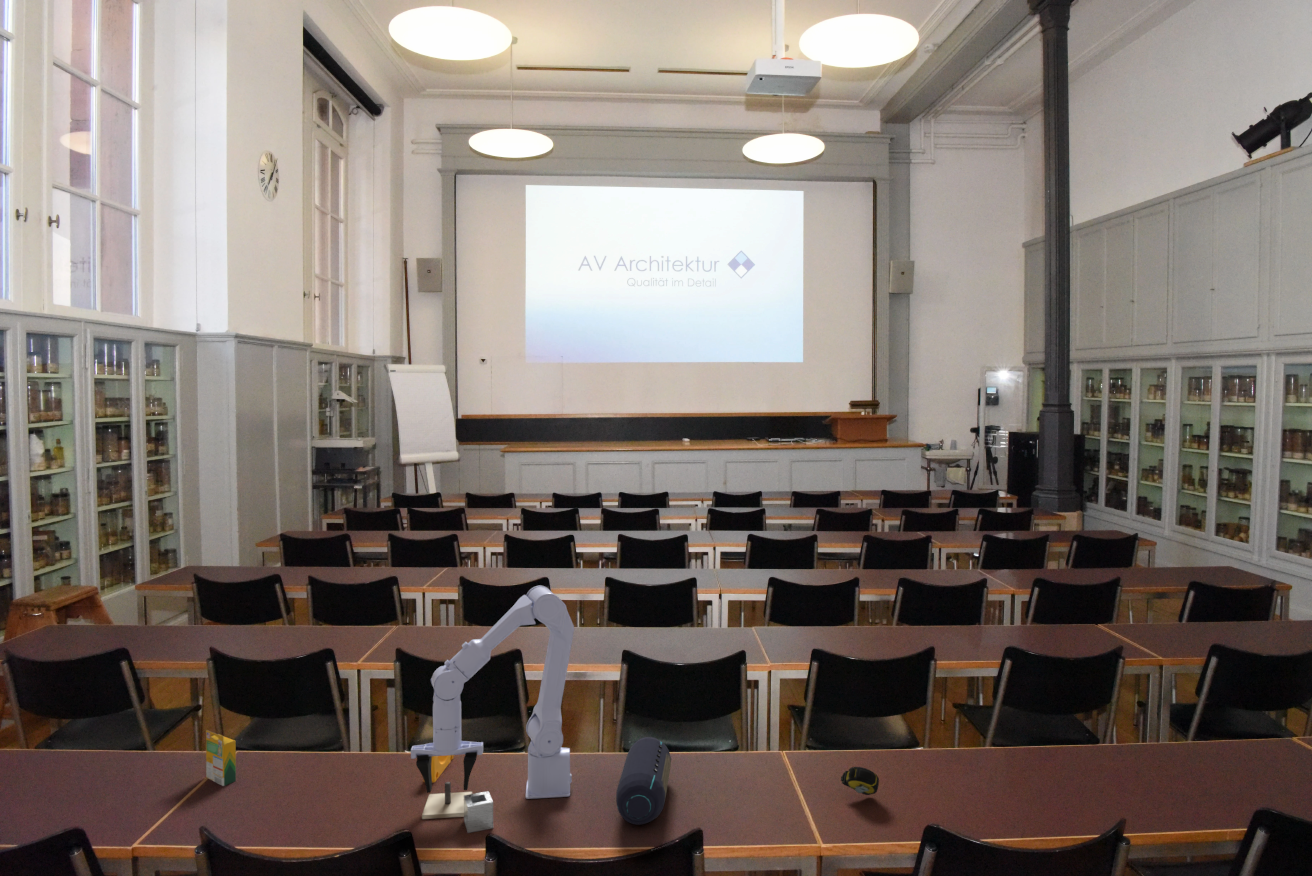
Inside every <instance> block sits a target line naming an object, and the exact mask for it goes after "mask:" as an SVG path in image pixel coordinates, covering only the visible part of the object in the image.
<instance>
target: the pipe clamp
mask: <svg viewBox="0 0 1312 876" xmlns="http://www.w3.org/2000/svg"><path fill="white" fill-rule="evenodd" d="M454 756H455V755H446V756H432V762H431V775H432V783H436V781H437V780H438V779H439V778H440V776H441V775H442V774H443V772H444V771H445V770H446V768H447V767H448V765H450V763H451V762H452V761H453V759H454V758H455V757H454ZM422 779H423V778H422ZM422 782H423V783H425V782H424V779H423V781H422Z"/></svg>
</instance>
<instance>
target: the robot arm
mask: <svg viewBox="0 0 1312 876" xmlns="http://www.w3.org/2000/svg"><path fill="white" fill-rule="evenodd" d="M535 619H536V620H538V621H539V622H540V623H542V624H543V625H545V627H546V628H547V629H548V630H549V637H548V643H547V646H546V647H547V650H546V654H545V660H544V665H543V670H542V671H543V672H542V676H541V682H540V688H539V694H538V698H537V703H536V704H535V705H534V707H533V710H532V714H531V716H530V717H529V719H528V721H527V723H526V726H525V731H526V734H527V736H528V737H529V738H530V742H529V745H528V747H527V780H526V787H525V788H526V789H525V799H526V800H528V799H531V800H533V799H535V800H536V799H548V798H563V797H570V796H571V783H572V782H573V781H572V780H573V779H572V777H573V776H572V773H571V748H570V747H562V746H563V744H564V734H563V731H562V727H563V726H562V724H563V718H562V709H561V708H562V707H561V706H562V701H563V695H564V691H565V690H564V689H565V685H566V678H567V673H568V668H569V662H570V657H571V656H570V655H571V649H572V644H573V637H574V633H575V625H574V623H573V621H572V618H571V616H570V613H569V612H568V609H567V605H566V604H565V602H564V601H563V600H561V598H560V597H559V596H558V595H556V594H555V593H553V591H552V590H551V589H549V588H548V587H547V586H544V585H536V586H533V587H531V588H530V589H529V590H528V591H527V593H526V594H523V595H522V596H520V597H519V598H518V599H517V601H516V602H515V603H514V605H513V606H512V607H510V609H508V610H507V612H506V613H504V615H503V616H502V617H501V618H500V619H499V620H497V622H496V623H495V624H493V626H492V627H491V628H490V629H489V630H488V631H487V632H486V633H485V634H483V636H482V637H481V638H477V639H476V638H475V639H471V640H469V642H467V641H464V643H462V644H461V647H462V648H461V649H460V650H459V651H458V652H457V653H456V654H455V655H453V657H452V658H451V659H450V660H449V659H446V660H445V661H444V665H441V666H439V667H438V668H436V670H434V672H433V673H432V676H431V678H430V683H431V686H432V687H433V697H432V701H433V702H432V738H433V739H432V741H433V742H429V743H425V744H424V743H423V744H417V745H412V746H411V748H410V760H411V759H416V763H415V765H416V767H417V769H418V771H419V773H420V775H421V777H422V779H424V782H423V783H424V784H425V789H426V793H429V794H431V791H432V788H433V782H432V775H431V762H432V756H446V755H454V756H457V755H459V756H460V755H464V757H463V763H462V764H463V791H468V788H469V780H470V776H471V773H472V770H473V768H474V765H475V763H476V760H477V759H478V758H477V757H478V756H482V755H483V753H484V741H481V742H479V741H478V742H477V741H468V740H462V701H461V694H462V692H463V689H464V684H465V683H466V682H468V681H469V680H470V679H472V677H474V675H476V673H477V672H478V671H480V670H481V669H482V668H483V667H484V666H485V665H486V664H488V662H489V661H490V660H491V655H492V654H491V653H492V650H494V649H495V648H496V647H497V646H498V645H499V644H501V643H502V642H503V641H504V640H505V639H506V638H508V637H509V636H510V635H511V634H512V633H513V632H515V631H516V630H517V629H518V628H519V627H521V626H529V625H531V626H532V625H536V624H537V623H536V621H535Z"/></svg>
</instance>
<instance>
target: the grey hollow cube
mask: <svg viewBox="0 0 1312 876" xmlns="http://www.w3.org/2000/svg"><path fill="white" fill-rule="evenodd" d="M463 823H464V825H465V828H466V831H467V832H466V833H467V834H470V833H475V832H480V831H485V830H491V829H494V800H493V798H492V796H491V793H490V792H489V790H487V791H482V792H481V791H480V792H475V793H472V794H469V795H464V816H463Z"/></svg>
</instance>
